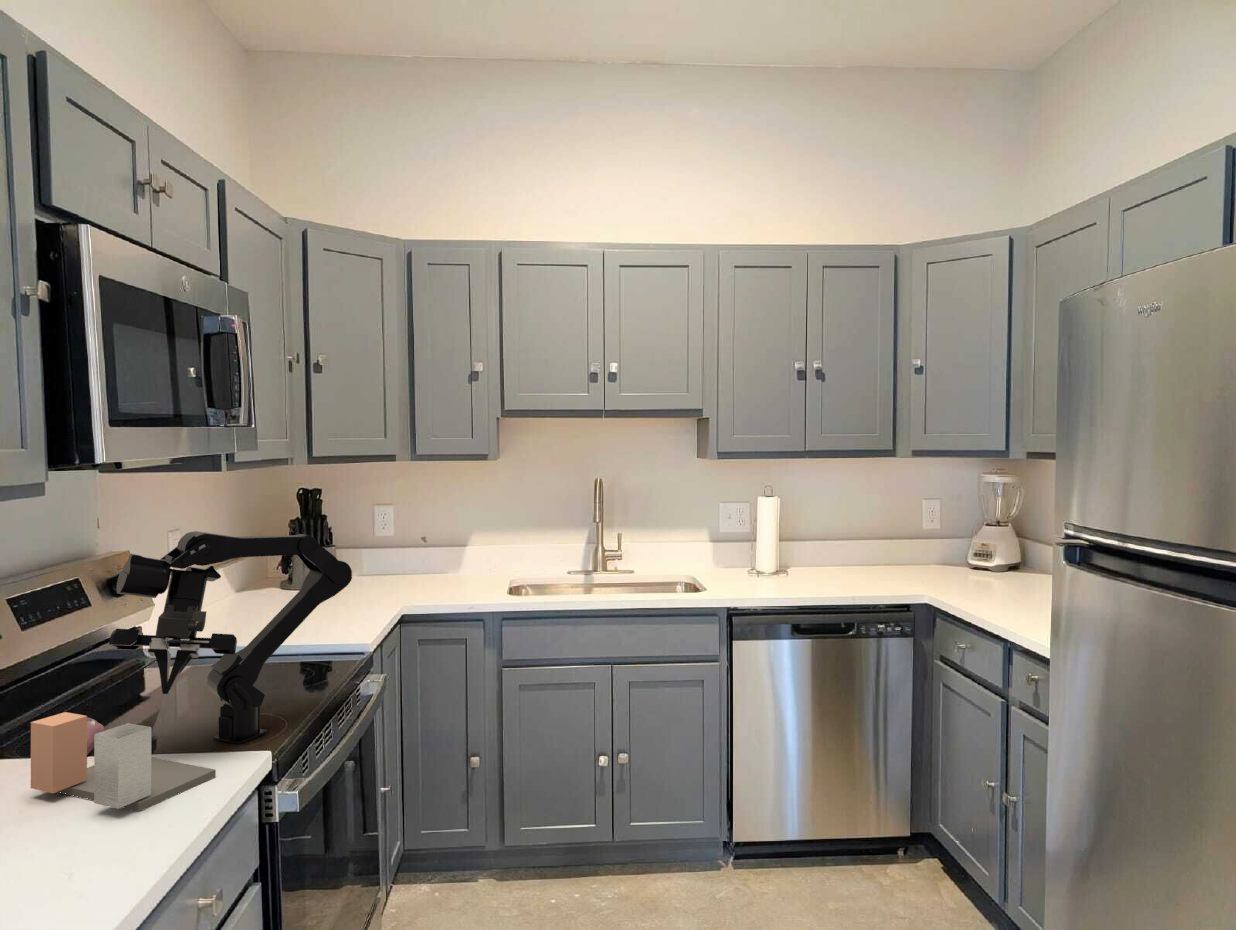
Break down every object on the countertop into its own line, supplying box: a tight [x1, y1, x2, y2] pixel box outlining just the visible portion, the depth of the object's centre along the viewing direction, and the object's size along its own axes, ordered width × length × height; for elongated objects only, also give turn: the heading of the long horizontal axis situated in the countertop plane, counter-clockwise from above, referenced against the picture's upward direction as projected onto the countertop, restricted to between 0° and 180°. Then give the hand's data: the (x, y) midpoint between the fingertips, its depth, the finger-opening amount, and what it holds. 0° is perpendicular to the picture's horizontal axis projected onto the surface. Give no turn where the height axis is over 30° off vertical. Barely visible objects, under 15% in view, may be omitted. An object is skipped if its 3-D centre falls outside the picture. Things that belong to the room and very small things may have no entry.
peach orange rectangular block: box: [30, 711, 88, 794], centre depth 115 cm, size 5×5×10 cm
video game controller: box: [87, 717, 105, 755], centre depth 132 cm, size 10×5×7 cm, turn 75°
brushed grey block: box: [93, 722, 152, 810], centre depth 110 cm, size 5×5×10 cm
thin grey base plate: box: [57, 756, 217, 812], centre depth 119 cm, size 13×20×1 cm, turn 69°
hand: (165, 693), depth 126 cm, fingers closed
